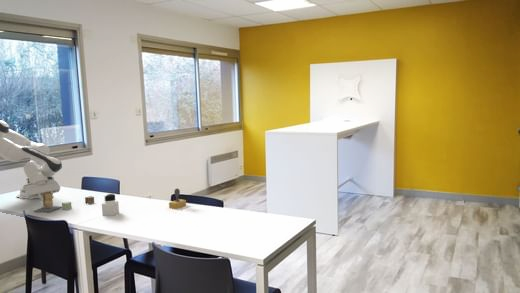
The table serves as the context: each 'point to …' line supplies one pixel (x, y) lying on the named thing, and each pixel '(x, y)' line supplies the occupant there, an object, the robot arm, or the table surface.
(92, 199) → the walnut cube
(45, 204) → the oak block
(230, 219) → the table surface
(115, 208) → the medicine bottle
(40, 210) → the grey mat
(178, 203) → the rubber stamp
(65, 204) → the sage cube
